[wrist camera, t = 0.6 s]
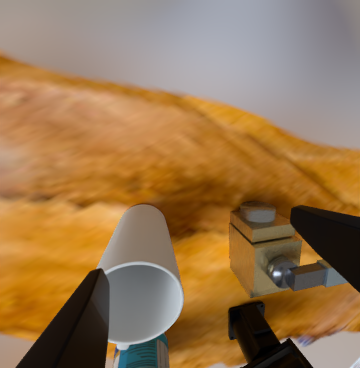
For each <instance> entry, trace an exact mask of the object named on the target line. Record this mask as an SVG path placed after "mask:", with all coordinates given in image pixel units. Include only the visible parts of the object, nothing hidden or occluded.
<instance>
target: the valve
mask: <svg viewBox="0 0 360 368" xmlns="http://www.w3.org/2000/svg"><path fill="white" fill-rule="evenodd" d="M230 222H231V223H229V258H230V268H231V269H232V271H233V272H234V274H235V275H236V277H237V278H238V280H239V281H240V283H241V285H242V286H243V288H244V289H245V291H246V292H247V294H248V295H249V297H250V298H253V297H257V296H262V295H266V294H271V293H275V292H280V291H284V290H289V288H285V289H282V288H278V287H277V286H276V285H275V284H274V283H273V282H272V280H271V279H270V278H269V277H268V275H267V268H268V266H269V264H270V263H271V262H272V261H273V260H274V259H276V258H278V257H287V258H288V259H290V260H291V261H292V262H293V263H295V264H296V265H297V266H299V264H300V255H301V246H302V240H300V239H299V238H297V237H296V236H294V235H295V229H294V228H293V227H292V225H291V223H290V220H289V219H287V218H285V217H283V216H281V215H279V214H277V213H276V208H275V206H273V205H271V204H268V203H264V202H257V201H251V202H245V203H242V204H241V205H240V211H232V212H230Z"/></svg>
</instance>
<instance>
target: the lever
mask: <svg viewBox="0 0 360 368" xmlns="http://www.w3.org/2000/svg"><path fill="white" fill-rule="evenodd" d="M267 275H268V277H269V278H270V279H271V280H272V282H273V283H274V284H275V285H276V286H277V287H278V288H282V289H285V288H289V287H290V288H291V289H292V290H293V291H297V290H302V289H306V288H311V287H315V286H320V285H323V286H325V287H330V286H335V285H339V284H344V283H348V282H347V281H346V280H345V279H344V278H343V277H342V276H341V275H340V274H339V273H338V272H337V271H336V270H335V269H333V268H332V267H331V266H330V265H329V264H328V263H327V262H326V261H325V260H324V259H322V260H317V263H313V264H308V265H303V266H297V265H296V264H295V263H293V262H292V261H291V260H290V259H288V258H287V257H278V258H276V259H274V260H273V261H272V262H271V263H270V264H269V266H268V268H267Z"/></svg>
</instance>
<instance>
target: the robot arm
mask: <svg viewBox="0 0 360 368" xmlns="http://www.w3.org/2000/svg"><path fill="white" fill-rule="evenodd" d="M290 223H291V225H292V227H293V228H294V229H295V230H296V231H297V232H298V233H299V234H300V235H301V236H302V238H303V239H304V240H305V241H306V242H307V243H308V244H309V245H310V246H311V247H312V248H313V249H314V251H315V252H316V253H317V254H319V255H320V256H321V257H322V258H323V259H324V260H325V261H326V262H327V263H328V264H329V265H330V266H331V267H332V268H333V269H335V270H336V271H337V272H338V273H339V274H340V275H341V276H342V277H343V278H344V279H345V280H346V281H347V282H349V283H350V284H351V285H352V286H353V287H354V288H355V289H356V290H357V291H358V292H359V293H360V217H357V216H352V215H347V214H342V213H337V212H333V211H328V210H323V209H318V208H313V207H308V206H303V205H299V206H295V207H293V208H292V209H291V216H290ZM109 308H110V284H109V280H108V278H107V276H106V274H105V272H104V270H103V269H102V268H98V269H95V270H92V271H90V272H89V273H88V275H87V276H86V277H85V279H84V280H83V281H82V282H81V284H80V285H79V286H78V288H77V289H76V290H75V291H74V293H73V294H72V295H71V297H70V298H69V299H68V300H67V302H66V303H65V304H64V306H63V307H62V308H61V310H60V311H59V312H58V313H57V315H56V316H55V317H54V319H53V320H52V321H51V322H50V324H49V325H48V326H47V328H46V329H45V330H44V331H43V333H42V334H41V335H40V337H39V338H38V339H37V340H36V342H35V343H34V344H33V346H32V347H31V348H30V350H29V351H28V352H27V353H26V355H25V356H24V357H23V359H22V360H21V361H20V363H19V364H18V365H17V366H16V368H105V363H106V354H107V345H108V336H109ZM264 310H265V304H264V303H263V302H257V303H253V304H248V305H244V306H240V307H235V308H231V309H229V311H228V313H229V339H230V340H234V339H237V341H238V343H239V345H240V348H241V350H242V352H243V354H244V357H245V359H246V361H247V363H248V364H247V365H245V366H244V367H240V368H313V367H312V365H311V364H310V363H309V362H308V360H307V359H306V358H305V357H304V355H303V354H302V353H301V352H300V350H299V349H298V348H297V346H296V345H295V344H294V343H293V341H292V340H291V339H290V338H288V339H286V340H287V341H285V342H283V343H282V344H281V343H280V342H279V340H278V338H277V337H276V335H275V334H274V332H273V331H272V329H271V327H270V326H269V324H268V323H267V321H266V320H265V318H264Z"/></svg>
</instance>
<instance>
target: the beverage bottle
mask: <svg viewBox="0 0 360 368" xmlns="http://www.w3.org/2000/svg"><path fill="white" fill-rule="evenodd" d="M113 368H170V367H169V356H168V340H167V337H166V335H165V333H162V334H161V335H159V336H157V337H156V338H154V339H151V340H149V341H146V342H143V343H138V344H131V345H129V348H128V349H126V350H119V349H117V345H116V349H115V355H114V362H113Z"/></svg>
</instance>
